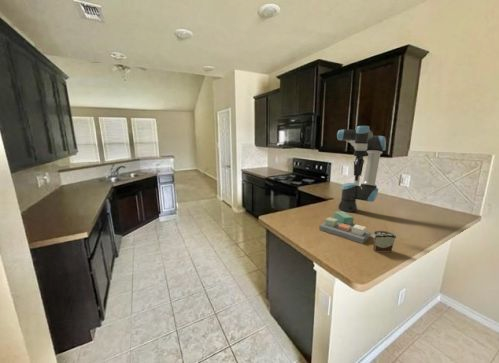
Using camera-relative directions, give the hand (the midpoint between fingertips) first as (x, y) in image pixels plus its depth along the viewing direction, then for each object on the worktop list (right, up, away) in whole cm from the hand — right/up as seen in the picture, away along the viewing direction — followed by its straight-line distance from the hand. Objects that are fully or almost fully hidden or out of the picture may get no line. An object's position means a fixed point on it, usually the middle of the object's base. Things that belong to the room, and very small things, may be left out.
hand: (356, 185), depth 149 cm
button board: (-10, -32, -3) cm, 33 cm away
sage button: (-16, -27, +2) cm, 32 cm away
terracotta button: (-10, -31, -4) cm, 33 cm away
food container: (+2, -36, -23) cm, 43 cm away
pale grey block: (-4, -30, -10) cm, 32 cm away
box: (-4, -29, +12) cm, 32 cm away
